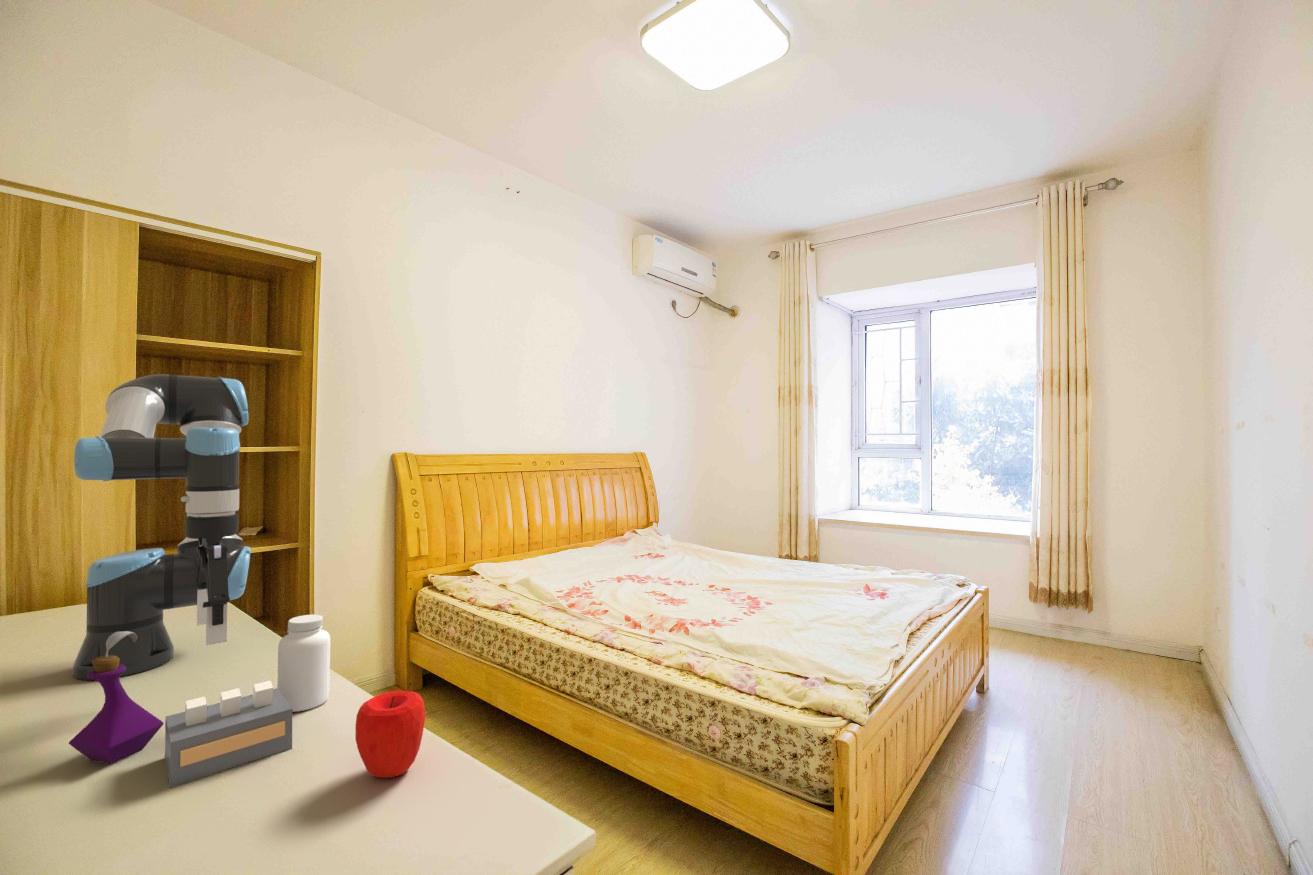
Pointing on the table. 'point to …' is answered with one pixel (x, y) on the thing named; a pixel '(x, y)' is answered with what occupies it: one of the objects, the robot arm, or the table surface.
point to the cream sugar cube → (262, 694)
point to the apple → (390, 732)
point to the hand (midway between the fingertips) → (211, 632)
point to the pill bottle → (304, 663)
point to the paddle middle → (230, 702)
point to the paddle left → (195, 711)
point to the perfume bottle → (115, 714)
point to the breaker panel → (226, 738)
